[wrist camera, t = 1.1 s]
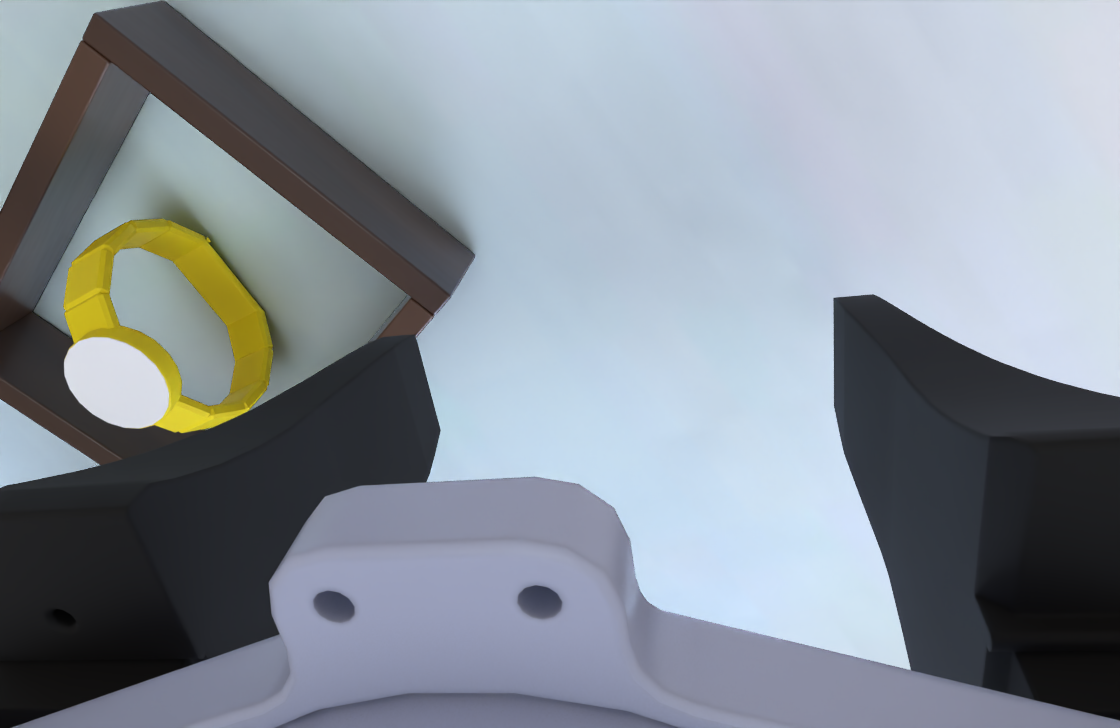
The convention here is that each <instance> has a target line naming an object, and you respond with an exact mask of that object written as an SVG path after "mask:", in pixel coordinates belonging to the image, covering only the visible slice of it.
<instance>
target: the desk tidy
mask: <svg viewBox="0 0 1120 728" xmlns="http://www.w3.org/2000/svg"><path fill="white" fill-rule="evenodd" d="M149 92H150V93H151V94H153V95H154V96H155V97H156V98H158V99H159V100H160V101H162V102H163V103H164V104H165V105H167V106H168V107H169V108H170V109H172V110H173V111H174V112H176V113H177V114H178V115H179V116H181V117H182V118H183V119H185V120H186V121H187V122H188V123H190V124H191V125H192V126H193V127H195V128H196V129H197V130H199V131H200V132H201V133H202V134H204V135H205V136H206V137H207V138H209V139H210V140H211V141H213V142H214V143H215V144H216V145H218V146H219V147H220V148H222V149H223V150H224V151H225V152H227V153H228V154H229V155H230V156H232V157H233V158H234V159H236V160H237V161H238V162H239V163H241V164H242V165H243V166H244V167H246V168H247V169H248V170H250V171H251V172H252V173H253V174H255V175H256V176H257V177H258V178H260V179H261V180H262V181H264V182H265V183H266V184H267V185H269V186H270V187H271V188H273V189H274V190H275V191H276V192H278V193H279V194H280V195H281V196H283V197H284V198H285V199H287V200H288V201H289V202H290V203H292V204H293V205H294V206H295V207H297V208H298V209H299V210H301V211H302V212H303V213H304V214H306V215H307V216H308V217H310V218H311V219H312V220H313V221H315V222H316V223H317V224H318V225H320V226H321V227H322V228H324V229H325V230H326V231H327V232H329V233H330V234H331V235H332V236H334V237H335V238H336V239H338V240H339V241H340V242H341V243H343V244H344V245H345V246H347V247H348V248H349V249H350V250H352V251H353V252H354V253H355V254H357V255H358V256H359V257H361V258H362V259H363V260H364V261H366V262H367V263H368V264H369V265H371V266H372V267H373V268H375V269H376V270H377V271H378V272H380V273H381V274H382V275H383V276H385V277H386V278H387V279H389V280H390V281H391V282H392V283H394V284H395V285H396V286H398V287H399V288H400V289H401V290H403V291H404V292H405V293H406V294H408V295H407V296H406V297H405V299H404V300H403V301H402V302H401V303H400V305H399V306H398V307H397V308H396V310H395V311H394V312H393V313H392V314H391V316H390V317H389V318H388V319H387V320H386V322H385V323H384V324H383V325H382V326H381V328H380V329H379V330H378V331H377V332H376V334H375V335H374V336H373V337H372V338H371V340H370V341H369V342H368V343H370V342H372V341H374V340H377V339H379V338H382V337H388V336H400V335H411V334H415V336H416V337H417V336H418V335H419V334H420V333H421V331H422V330H423V329H424V328H425V327H426V326H427V324H428V323H429V322H430V321H431V320H432V319H433V318H434V316H435V314H437V313H438V312H439V311H440V309H441V308H442V307H443V306H444V305H445V304H446V302H447V301H448V300H449V299H450V298H451V296H452V295H453V293H454V291H455V290H456V288H457V286H458V285H459V283H460V281H461V280H462V278H463V276H464V275H465V273H466V271H467V270H468V268H469V266H470V265H471V263H472V261H473V260H474V258H475V255H474V254H473V253H472V252H471V251H470V250H468V249H467V248H466V247H465V246H463V245H462V244H461V243H460V242H459V241H457V240H456V239H455V238H454V237H452V236H451V235H450V234H449V233H448V232H446V231H445V230H444V229H443V228H441V227H440V226H439V225H438V224H437V223H435V222H434V221H433V220H432V219H430V218H429V217H428V216H427V215H425V214H424V213H423V212H422V211H421V210H419V209H418V208H417V207H416V206H414V205H413V204H412V203H411V202H410V201H408V200H407V199H406V198H405V197H403V196H402V195H401V194H400V193H399V192H397V191H396V190H395V189H394V188H392V187H391V186H390V185H389V184H387V183H386V182H385V181H384V180H383V179H381V178H380V177H379V176H378V175H376V174H375V173H374V172H373V171H372V170H370V169H369V168H368V167H367V166H365V165H364V164H363V163H362V162H361V161H359V160H358V159H357V158H356V157H354V156H353V155H352V154H351V153H349V152H348V151H347V150H346V149H345V148H343V147H342V146H341V145H340V144H338V143H337V142H336V141H335V140H334V139H332V138H331V137H330V136H329V135H327V134H326V133H325V132H324V131H323V130H321V129H320V128H319V127H318V126H316V125H315V124H314V123H313V122H311V121H310V120H309V119H308V118H307V117H305V116H304V115H303V114H302V113H300V112H299V111H298V110H297V109H296V108H294V107H293V106H292V105H291V104H289V103H288V102H287V101H286V100H284V99H283V98H282V97H281V96H280V95H278V94H277V93H276V92H275V91H273V90H272V89H271V88H270V87H269V86H267V85H266V84H265V83H264V82H262V81H261V80H260V79H259V78H258V77H256V76H255V75H254V74H253V73H251V72H250V71H249V70H248V69H246V68H245V67H244V66H243V65H242V64H240V63H239V62H238V61H237V60H235V59H234V58H233V57H232V56H231V55H229V54H228V53H227V52H226V51H224V50H223V49H222V48H221V47H220V46H218V45H217V44H216V43H215V42H213V41H212V40H211V39H210V38H208V37H207V36H206V35H205V34H204V33H202V32H201V31H200V30H199V29H197V28H196V27H195V26H194V25H193V24H191V23H190V22H189V21H188V20H186V19H185V18H184V17H183V16H182V15H180V14H179V13H178V12H177V11H175V10H174V9H173V8H172V7H170V6H169V5H168V4H167V3H166V2H164V1H157V2H152V3H146V4H141V5H135V6H129V7H124V8H118V9H113V10H107V11H102V12H96V13H94V14H93V16H92V18H91V20H90V22H89V24H88V27H87V29H86V31H85V33H84V35H83V40H82V41H80V43H79V46H78V48H77V50H76V52H75V54H74V56H73V58H72V60H71V63H70V65H69V67H68V69H67V71H66V73H65V75H64V77H63V80H62V82H61V84H60V86H59V88H58V90H57V92H56V94H55V97H54V99H53V101H52V103H51V105H50V107H49V109H48V111H47V114H46V116H45V118H44V120H43V122H42V124H41V126H40V128H39V131H38V133H37V135H36V137H35V139H34V141H33V143H32V145H31V148H30V150H29V152H28V154H27V156H26V158H25V160H24V162H23V165H22V167H21V169H20V171H19V173H18V175H17V177H16V179H15V182H14V184H13V186H12V188H11V190H10V192H9V194H8V197H7V199H6V201H5V203H4V205H3V207H2V209H1V211H0V399H1V400H3V401H4V402H6V403H7V404H9V405H10V406H12V407H13V408H15V409H16V410H18V411H19V412H21V413H22V414H24V415H25V416H27V417H28V418H30V419H31V420H33V421H34V422H36V423H38V424H39V425H41V426H42V427H44V428H45V429H47V430H48V431H50V432H51V433H53V434H54V435H56V436H57V437H59V438H60V439H62V440H63V441H65V442H66V443H68V444H69V445H71V446H72V447H74V448H75V449H77V450H78V451H80V452H82V453H83V454H85V455H86V456H88V457H89V458H91V459H92V460H94V461H95V462H97V463H98V464H100V465H104V464H107V463H111V462H115V461H118V460H122V459H125V458H129V457H132V456H135V455H139V454H142V453H145V452H148V451H151V450H154V449H157V448H160V447H162V446H165V445H168V444H171V443H173V442H176V441H179V440H182V439H184V438H187V437H190V436H193V435H195V434H198V433H201V432H203V430H196V431H191V432H185V433H180V432H179V431H178V432H172V431H169V430H167V429H164V428H161V427H158V426H156V425H153V426H149V427H145V428H141V429H137V428H123V427H120V426H117V425H114V424H110V423H107V422H106V421H104V420H102V419H100V418H99V417H97V416H95V415H93V414H92V413H91V412H90V411H88V410H87V409H86V408H85V407H84V406H83V405H82V404H80V403H79V401H78V400H77V399H76V397H75V396H74V394H73V393H72V392H71V390H70V389H69V386H68V383H67V381H66V378H65V375H64V359H65V357H66V355H67V352H68V350H69V348H70V347H71V346H72V345H73V344H74V341H73V340H72V339H70V338H69V337H67V336H66V335H65V334H63V333H62V332H60V331H59V330H57V329H56V328H54V327H53V326H52V325H50V324H49V323H47V322H46V321H44V320H43V319H41V318H40V317H39V316H37V315H36V314H34V313H33V312H32V311H33V309H34V307H35V305H36V304H37V302H38V300H39V298H40V296H41V294H42V292H43V290H44V289H45V287H46V285H47V283H48V281H49V279H50V277H51V275H52V274H53V272H54V270H55V268H56V266H57V264H58V262H59V260H60V259H61V257H62V255H63V253H64V251H65V249H66V247H67V246H68V244H69V242H70V240H71V238H72V236H73V234H74V232H75V231H76V229H77V227H78V225H79V223H80V221H81V219H82V217H83V216H84V214H85V212H86V210H87V208H88V206H89V204H90V202H91V201H92V199H93V197H94V195H95V193H96V191H97V189H98V188H99V186H100V184H101V182H102V180H103V178H104V176H105V174H106V173H107V171H108V169H109V167H110V165H111V163H112V161H113V159H114V158H115V156H116V154H117V152H118V150H119V148H120V146H121V144H122V143H123V141H124V139H125V137H126V135H127V133H128V131H129V130H130V128H131V126H132V124H133V122H134V120H135V118H136V116H137V115H138V113H139V111H140V109H141V107H142V105H143V103H144V101H145V100H146V98H147V96H148V94H149ZM368 343H367V344H368Z"/></svg>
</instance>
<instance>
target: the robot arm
mask: <svg viewBox="0 0 1120 728" xmlns="http://www.w3.org/2000/svg"><path fill="white" fill-rule="evenodd" d="M834 408H835V412H836V417H837V422H838V427H839V432H840V437H841V441H842V446H843V450H844V454H845V457H846V460H847V462H848V465H849V468H850V471H851V473H852V476H853V479H854V481H855V484H856V487H857V489H858V492H859V495H860V497H861V500H862V503H863V505H864V508H865V510H866V513H867V516H868V518H869V521H870V524H871V526H872V529H873V532H874V534H875V537H876V539H877V542H878V545H879V547H880V550H881V553H882V556H883V559H884V562H885V565H886V568H887V571H888V575H889V578H890V582H891V586H892V591H893V595H894V599H895V603H896V607H897V611H898V615H899V619H900V623H901V628H902V632H903V636H904V641H905V645H906V650H907V654H908V658H909V663H910V667H911V670H907V669H903V668H899V667H895V666H891V665H886V664H882V663H878V662H874V661H870V660H866V659H862V658H857V657H853V656H849V655H845V654H841V653H837V652H832V651H828V650H824V649H820V648H816V647H812V646H808V645H803V644H799V643H795V642H791V641H787V640H783V639H778V638H774V637H770V636H766V635H762V634H758V633H754V632H749V631H745V630H741V629H737V628H733V627H729V626H724V625H720V624H716V623H712V622H708V621H704V620H700V619H695V618H691V617H687V616H683V615H679V614H675V613H670V612H666V611H663V610H660V609H658V608H657V607H655V606H653V605H652V604H650V603H649V602H648V601H647V600H646V599H645V598H644V596H643V595H642V593H641V592H640V589H639V585H638V582H637V579H636V576H635V569H634V563H633V556H632V549H631V543H630V539H629V537H628V535H627V533H626V531H625V529H624V527H623V525H622V523H621V521H620V519H619V517H618V515H617V513H616V511H615V509H614V508H613V507H612V506H610V505H609V504H607V503H606V502H605V501H603V500H602V499H600V498H599V497H597V496H596V495H594V494H593V493H591V492H590V491H588V490H587V489H585V488H584V487H582V486H581V485H579V484H575V483H569V482H563V481H557V480H551V479H545V478H539V477H523V478H503V479H483V480H464V481H444V482H426V481H427V479H428V477H429V474H430V470H431V467H432V463H433V460H434V456H435V452H436V448H437V443H438V439H439V435H440V427H439V423H438V419H437V415H436V412H435V408H434V404H433V400H432V396H431V393H430V389H429V385H428V381H427V378H426V374H425V370H424V366H423V362H422V359H421V355H420V351H419V347H418V344H417V340H416V336H415V334H411V335H400V336H388V337H382V338H379V339H377V340H374V341H372V342H370V343H368V344H366V345H364V346H362V347H360V348H358V349H357V350H355V351H353V352H351V353H350V354H348V355H346V356H344V357H343V358H341V359H339V360H338V361H336V362H334V363H333V364H331V365H329V366H328V367H326V368H324V369H323V370H321V371H319V372H318V373H316V374H314V375H313V376H311V377H310V378H308V379H306V380H304V381H303V382H301V383H299V384H297V385H296V386H294V387H292V388H290V389H288V390H287V391H285V392H283V393H281V394H279V395H278V396H276V397H274V398H272V399H270V400H269V401H267V402H265V403H263V404H262V405H260V406H258V407H256V408H254V409H252V410H250V411H248V412H246V413H244V414H241V415H239V416H237V417H235V418H233V419H231V420H228V421H226V422H224V423H222V424H219V425H217V426H215V427H213V428H210V429H208V430H206V431H203V432H201V433H198V434H195V435H193V436H190V437H187V438H184V439H182V440H179V441H176V442H173V443H171V444H168V445H165V446H162V447H160V448H157V449H154V450H151V451H148V452H145V453H142V454H139V455H135V456H132V457H129V458H125V459H122V460H118V461H115V462H111V463H107V464H104V465H100V466H96V467H92V468H88V469H84V470H80V471H76V472H71V473H67V474H62V475H57V476H52V477H47V478H42V479H38V480H33V481H28V482H23V483H18V484H12V485H7V486H4V487H2V488H0V728H1120V397H1116V396H1112V395H1107V394H1102V393H1098V392H1094V391H1090V390H1086V389H1082V388H1078V387H1074V386H1071V385H1067V384H1063V383H1059V382H1056V381H1053V380H1049V379H1046V378H1043V377H1040V376H1037V375H1034V374H1031V373H1028V372H1026V371H1023V370H1020V369H1017V368H1015V367H1012V366H1009V365H1006V364H1004V363H1001V362H999V361H996V360H994V359H992V358H989V357H987V356H985V355H983V354H981V353H979V352H976V351H974V350H972V349H970V348H968V347H966V346H964V345H962V344H960V343H958V342H956V341H954V340H952V339H950V338H948V337H946V336H944V335H943V334H941V333H939V332H937V331H935V330H934V329H932V328H930V327H928V326H927V325H925V324H923V323H922V322H920V321H918V320H917V319H915V318H913V317H912V316H910V315H908V314H907V313H905V312H903V311H902V310H900V309H898V308H897V307H895V306H894V305H892V304H890V303H888V302H887V301H885V300H883V299H882V298H880V297H878V296H876V295H861V296H850V297H838V298H834Z"/></svg>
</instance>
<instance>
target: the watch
mask: <svg viewBox="0 0 1120 728" xmlns="http://www.w3.org/2000/svg"><path fill="white" fill-rule="evenodd" d="M210 242H211V241H210V239H209V238H208V237H207V238H206V239H205V236H203V235H201V234H199V233H197V232H194V231H192V230H190V229H188V228H186V227H183V226H181V225H179V224H177V223H175V222H172V221H170V220H165V219H163V218H162V219H145V220H130V221H129V222H127V223H124V224H122V225H120V226H119V227H117V228H115V229H114V230H112V231H110V232H109V233H107V234H105V235H103V236H102V237H100V238H98V239H97V240H95V241H94V242H93V243H92V244H91V245H90V246H89V247H87V248H86V249H85V250H84V251H83V252H82V253H81V254H80V255H79V256H78V257H77V258H76V259H75V260H74V261H73V262H72V267H70V268H69V270H68V277H67V284H66V291H65V298H64V305H63V307H64V310H66V312H65V313H64V315H65V318H66V321H67V324H68V327H69V330H70V333H71V335H72V338H73V341H74V344H73V345H72V346H71V347H70V348H69V350H68V352H67V355H66V357H65V359H64V375H65V378H66V381H67V383H68V386H69V389H70V390H71V392H72V393H73V394H74V396H75V397H76V399H77V400H78V401H79V403H80V404H82V405H83V406H84V407H85V408H86V409H87V410H88V411H90V412H91V413H92V414H93V415H95V416H97V417H99V418H100V419H102V420H104V421H106V422H107V423H110V424H114V425H117V426H120V427H123V428H137V429H141V428H145V427H149V426H153V425H156V426H158V427H161V428H164V429H167V430H169V431H172V432H178V431H179V432H180V433H185V432H191V431H196V430H202V429H207V428H212V427H215V426H217V425H219V424H222V423H224V422H226V421H228V420H230V419H233V418H235V417H237V416H239V415H241V414H244V413H245V412H247V411H249V410H250V409H251V407H252V406H253V405H254V404H255V403H256V402H257V400H258V399H259V398H260V397H261V396H262V395H263V394H264V392H265V391H266V390H267V386H268V385H269V380H270V373H271V366H272V359H273V351H272V348H273V344H272V340H271V336H270V332H269V328H268V324H267V320H266V316H265V312H264V310H262V309H261V307H260V306H259V305H258V304H257V302H256V301H255V300H254V299H253V297H252V296H251V295H250V294H249V292H248V291H247V290H246V289H245V287H244V286H243V285H242V284H241V282H240V281H239V280H238V279H237V277H236V276H235V275H234V274H233V273H232V271H231V270H230V269H229V268H228V266H227V265H226V264H225V263H224V261H223V260H222V259H221V258H220V256H219V255H218V254H217V253H216V251H215V250H214V249H213V248H212V246H211V245H210V244H209V243H210ZM129 248H142V249H144V250H147V251H149V252H151V253H154V254H156V255H159V256H161V257H164V258H166V259H169V260H171V261H173V263H174V264H175V265H176V266H177V267H178V269H179V270H180V271H181V272H182V273H183V274H184V276H185V277H186V278H187V279H188V280H189V282H190V283H191V284H192V285H193V286H194V288H195V289H196V290H197V291H198V292H199V294H200V295H201V296H202V297H203V298H204V299H205V301H206V302H207V303H208V304H209V305H210V307H211V308H212V309H213V310H214V311H215V313H216V314H217V315H218V316H219V317H220V319H221V320H222V321H223V322H224V323H225V325H226V326H227V329H228V333H229V337H230V342H231V346H232V350H233V354H234V359H235V366H234V372H233V377H232V383H231V389H230V394H229V395H228V396H227V397H226V398H225V399H224V400H223V401H222V402H221V403H220V404H218V405H212V406H207V405H205V404H203V403H200V402H198V401H195V400H193V399H190V398H188V397H185V396H183V395H181V391H182V380H181V377H180V373H179V370H178V367H177V365H176V364H175V362H174V361H173V359H172V357H171V356H170V354H169V353H168V352H167V351H166V350H165V349H164V348H163V347H162V346H161V345H160V344H159V343H157V342H156V341H155V340H154V339H152V338H150V337H149V336H147V335H145V334H143V333H142V332H140V331H137V330H134V329H131V328H128V327H124V326H120V324H119V321H118V318H117V315H116V312H115V310H114V307H113V304H112V301H111V298H110V295H109V294H110V286H111V277H112V269H113V260H114V255H115V254H116V253H117V252H118V251H119V250H120V249H129Z"/></svg>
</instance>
